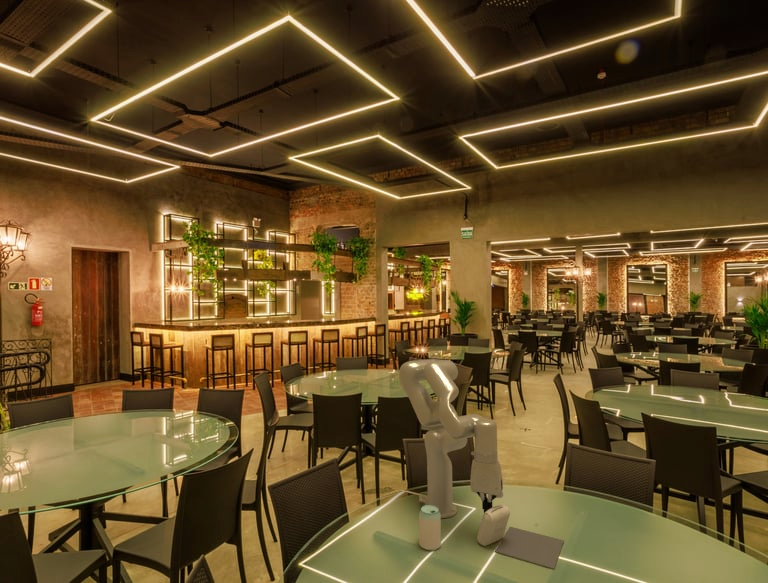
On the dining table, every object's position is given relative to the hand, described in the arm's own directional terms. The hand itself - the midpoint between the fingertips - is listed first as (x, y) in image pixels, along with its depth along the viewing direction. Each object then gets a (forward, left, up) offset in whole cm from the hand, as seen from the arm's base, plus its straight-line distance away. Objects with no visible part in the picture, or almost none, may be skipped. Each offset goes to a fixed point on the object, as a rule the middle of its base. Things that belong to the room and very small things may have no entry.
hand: (487, 512), depth 146 cm
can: (-15, -13, -10) cm, 22 cm away
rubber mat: (+13, +3, -9) cm, 16 cm away
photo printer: (0, 0, -9) cm, 9 cm away
